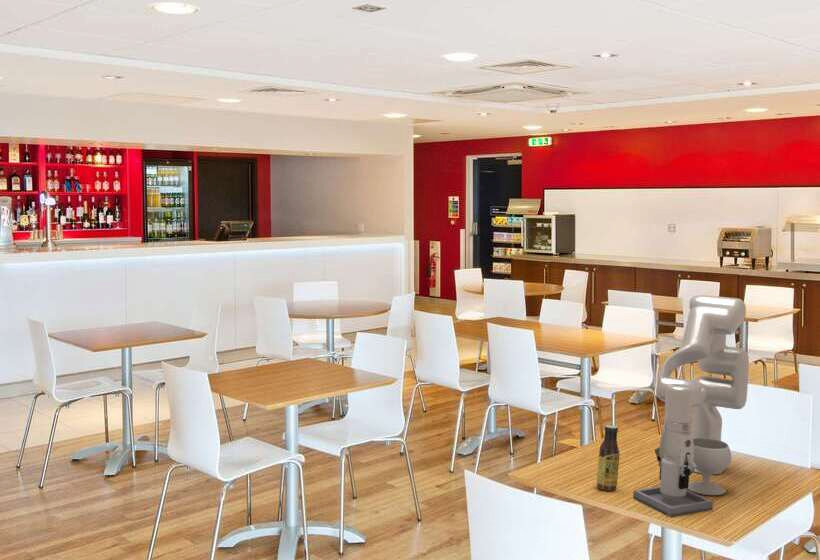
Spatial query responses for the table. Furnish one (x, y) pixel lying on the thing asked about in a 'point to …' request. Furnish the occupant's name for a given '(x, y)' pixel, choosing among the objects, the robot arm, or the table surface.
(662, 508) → the tray
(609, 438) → the sauce bottle
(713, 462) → the chalice
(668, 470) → the can
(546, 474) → the table surface
